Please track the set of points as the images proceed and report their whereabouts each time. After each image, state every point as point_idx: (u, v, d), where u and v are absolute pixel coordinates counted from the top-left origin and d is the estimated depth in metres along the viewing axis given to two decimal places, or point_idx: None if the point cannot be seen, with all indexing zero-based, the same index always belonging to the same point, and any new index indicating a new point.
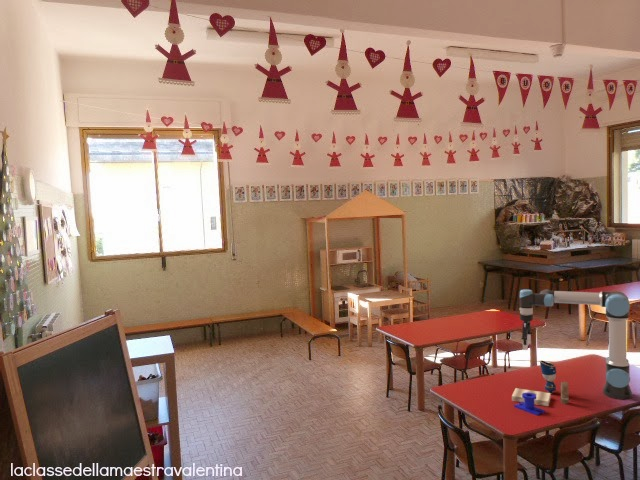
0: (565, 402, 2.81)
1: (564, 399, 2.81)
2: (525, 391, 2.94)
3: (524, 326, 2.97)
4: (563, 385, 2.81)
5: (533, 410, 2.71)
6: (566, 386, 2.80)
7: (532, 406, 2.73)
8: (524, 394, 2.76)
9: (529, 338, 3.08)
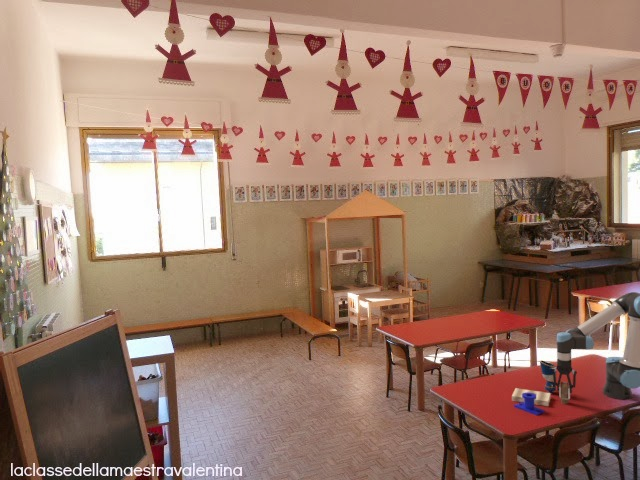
0: (565, 402, 2.81)
1: (564, 399, 2.81)
2: (525, 391, 2.94)
3: (553, 371, 2.85)
4: (563, 385, 2.81)
5: (533, 410, 2.71)
6: (566, 386, 2.80)
7: (532, 406, 2.73)
8: (524, 394, 2.76)
9: (568, 392, 2.81)
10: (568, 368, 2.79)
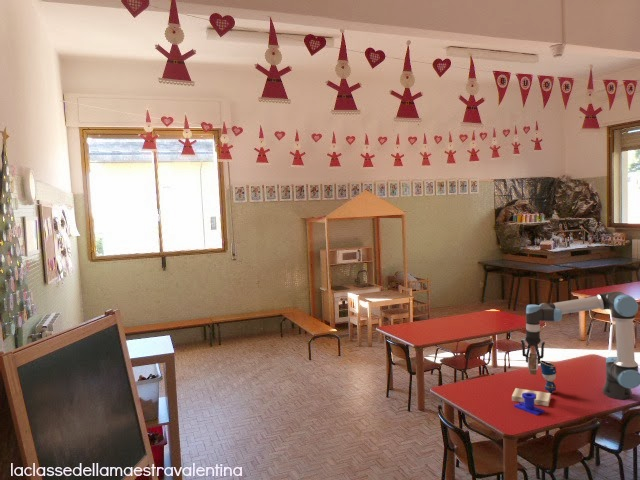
0: (533, 373, 2.86)
1: (532, 370, 2.86)
2: (525, 391, 2.94)
3: None
4: (531, 356, 2.86)
5: (533, 410, 2.72)
6: (534, 357, 2.85)
7: (532, 406, 2.73)
8: (524, 394, 2.76)
9: (536, 363, 2.86)
10: (536, 339, 2.85)
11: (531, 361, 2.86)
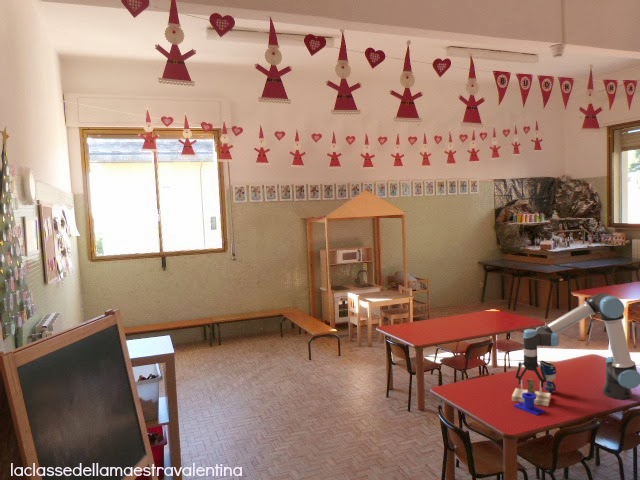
0: None
1: None
2: (525, 391, 2.94)
3: None
4: (529, 382, 2.87)
5: (533, 410, 2.72)
6: (532, 383, 2.87)
7: (532, 406, 2.73)
8: (524, 394, 2.76)
9: None
10: (534, 364, 2.86)
11: (529, 387, 2.88)
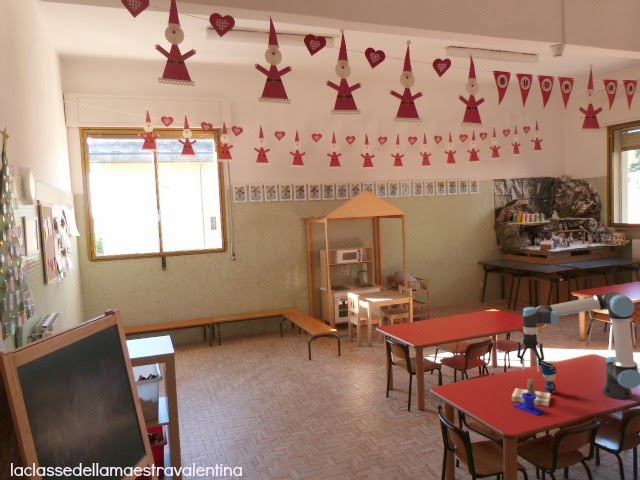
0: None
1: None
2: (525, 391, 2.94)
3: None
4: (529, 382, 2.87)
5: (533, 410, 2.72)
6: (532, 383, 2.87)
7: (532, 406, 2.73)
8: (524, 394, 2.76)
9: (537, 365, 2.86)
10: (533, 342, 2.85)
11: (529, 387, 2.88)
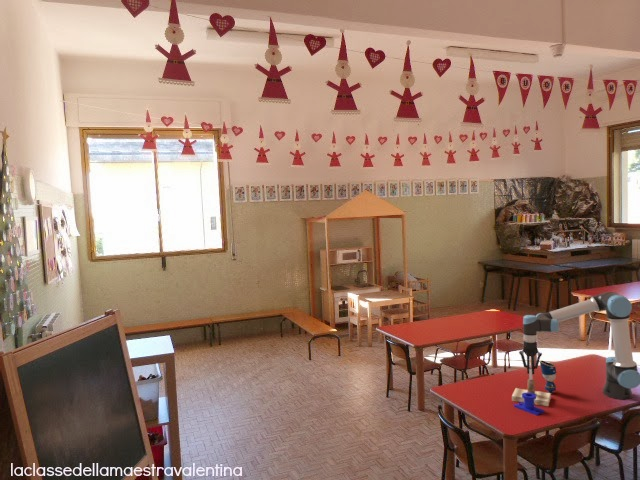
0: None
1: None
2: (525, 391, 2.94)
3: None
4: (529, 382, 2.87)
5: (533, 410, 2.72)
6: (532, 383, 2.87)
7: (532, 406, 2.73)
8: (524, 394, 2.76)
9: None
10: (534, 350, 2.85)
11: (529, 387, 2.88)
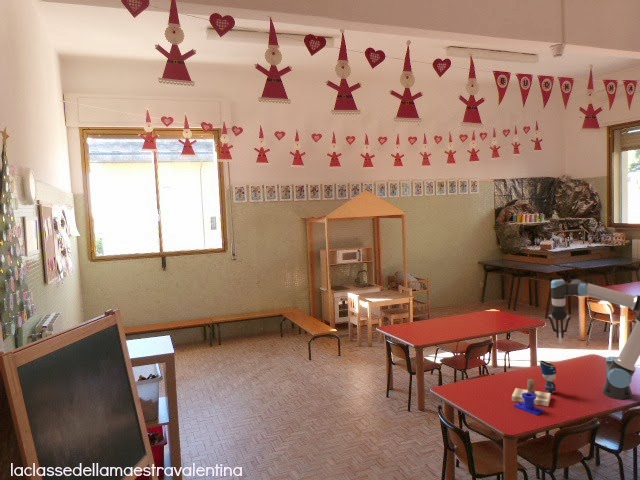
0: None
1: None
2: (525, 391, 2.94)
3: (549, 318, 2.94)
4: (529, 382, 2.87)
5: (533, 410, 2.72)
6: (532, 383, 2.87)
7: (532, 406, 2.73)
8: (524, 394, 2.76)
9: None
10: (563, 313, 2.89)
11: (529, 387, 2.88)
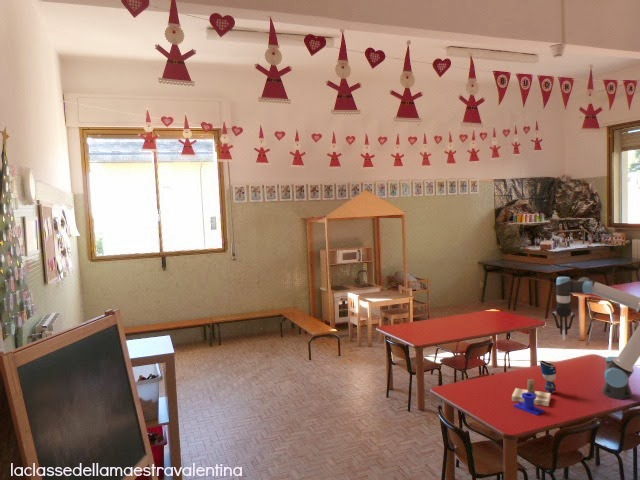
0: None
1: None
2: (525, 391, 2.94)
3: None
4: (529, 382, 2.87)
5: (533, 410, 2.72)
6: (532, 383, 2.87)
7: (532, 406, 2.73)
8: (524, 394, 2.76)
9: None
10: (567, 310, 2.90)
11: (529, 387, 2.88)
